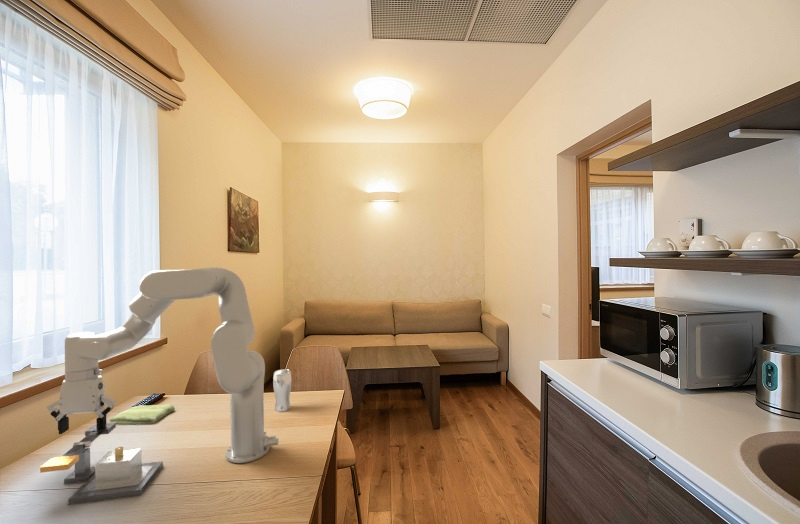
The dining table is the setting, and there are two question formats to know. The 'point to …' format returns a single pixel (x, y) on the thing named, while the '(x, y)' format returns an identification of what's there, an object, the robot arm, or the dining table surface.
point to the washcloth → (142, 414)
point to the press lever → (76, 449)
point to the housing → (118, 467)
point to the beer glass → (282, 389)
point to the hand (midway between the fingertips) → (82, 430)
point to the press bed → (93, 493)
